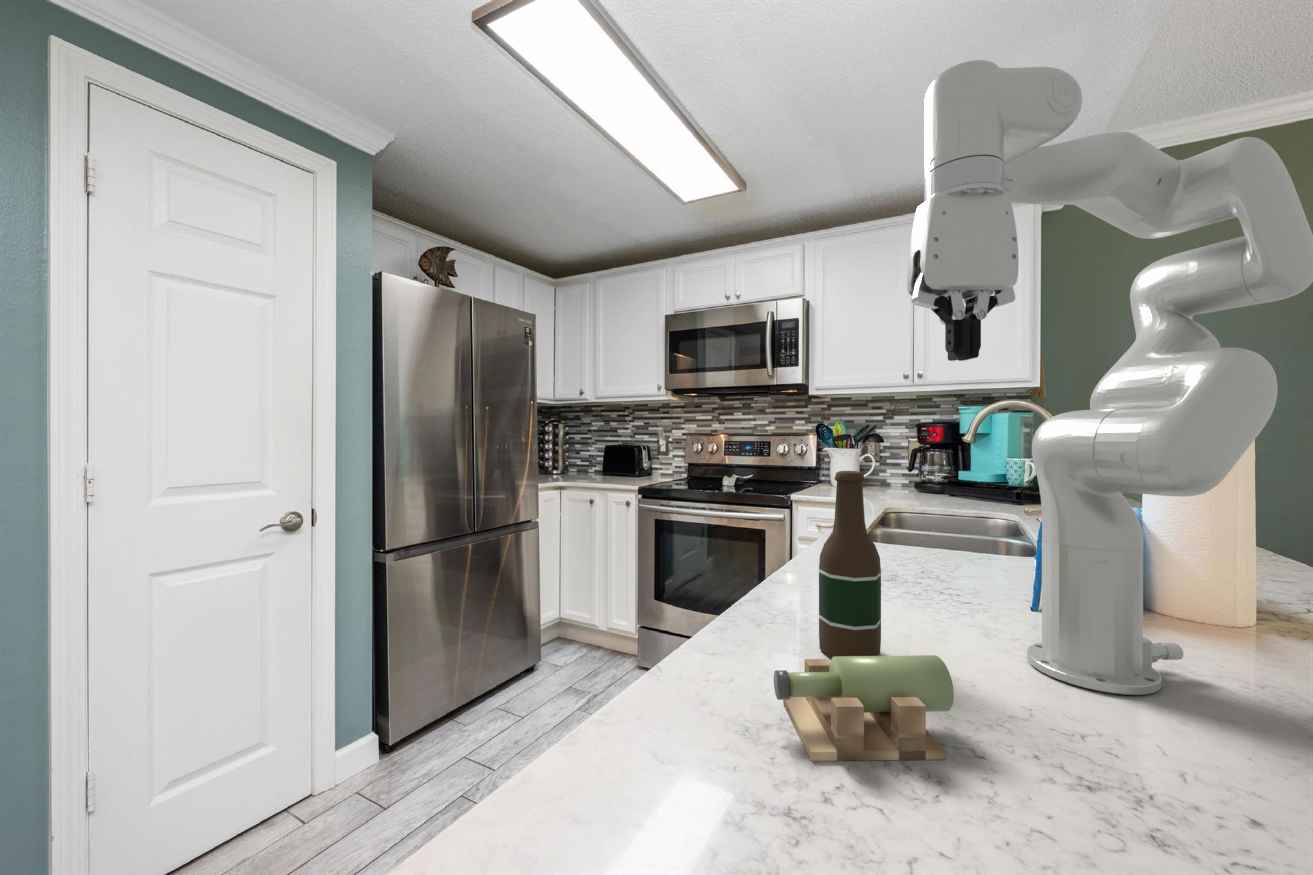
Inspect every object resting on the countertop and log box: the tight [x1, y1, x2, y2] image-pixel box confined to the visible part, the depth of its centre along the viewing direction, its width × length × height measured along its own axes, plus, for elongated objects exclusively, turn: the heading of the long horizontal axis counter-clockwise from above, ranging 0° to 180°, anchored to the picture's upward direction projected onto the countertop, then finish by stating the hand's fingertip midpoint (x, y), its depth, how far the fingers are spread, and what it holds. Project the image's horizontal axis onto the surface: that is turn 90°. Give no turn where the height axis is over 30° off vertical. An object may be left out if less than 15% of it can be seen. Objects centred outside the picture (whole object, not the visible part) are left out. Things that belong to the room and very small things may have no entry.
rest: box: [782, 658, 947, 762], centre depth 52 cm, size 12×10×5 cm
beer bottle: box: [818, 470, 882, 660], centre depth 70 cm, size 8×8×24 cm
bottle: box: [773, 654, 955, 713], centre depth 52 cm, size 5×5×16 cm
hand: (962, 358), depth 58 cm, fingers closed
